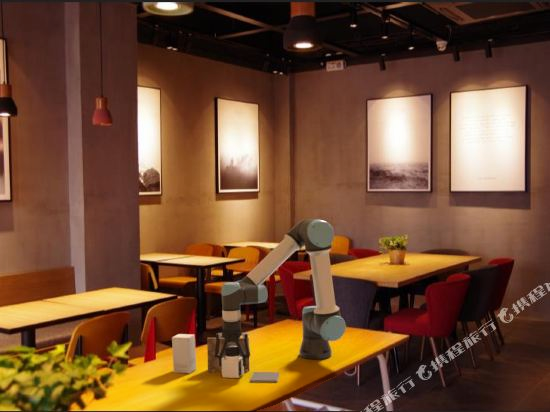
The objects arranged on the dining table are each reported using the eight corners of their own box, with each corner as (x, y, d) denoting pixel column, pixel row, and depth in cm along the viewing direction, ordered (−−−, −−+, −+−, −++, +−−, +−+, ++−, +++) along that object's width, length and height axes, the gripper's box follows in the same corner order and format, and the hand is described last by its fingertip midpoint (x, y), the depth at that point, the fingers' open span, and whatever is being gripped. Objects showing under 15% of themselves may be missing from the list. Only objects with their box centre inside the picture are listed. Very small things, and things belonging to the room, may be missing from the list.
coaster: (279, 374, 252) (279, 372, 252) (277, 382, 241) (277, 380, 241) (253, 373, 253) (253, 371, 253) (250, 382, 242) (250, 380, 242)
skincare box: (196, 369, 260) (196, 334, 260) (189, 374, 254) (189, 337, 253) (179, 368, 263) (178, 333, 262) (172, 372, 256) (171, 336, 256)
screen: (250, 368, 261) (249, 336, 260) (248, 372, 255) (247, 340, 254) (209, 367, 262) (209, 336, 262) (206, 372, 256) (206, 339, 256)
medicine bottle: (239, 378, 246) (238, 349, 246) (222, 377, 247) (221, 349, 247) (243, 373, 253) (242, 345, 253) (227, 372, 254) (226, 344, 254)
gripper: (256, 317, 252) (258, 371, 253) (209, 317, 254) (210, 370, 255) (254, 321, 245) (255, 376, 246) (205, 321, 247) (207, 376, 247)
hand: (233, 373), depth 250 cm, fingers closed on medicine bottle, 7 cm apart
